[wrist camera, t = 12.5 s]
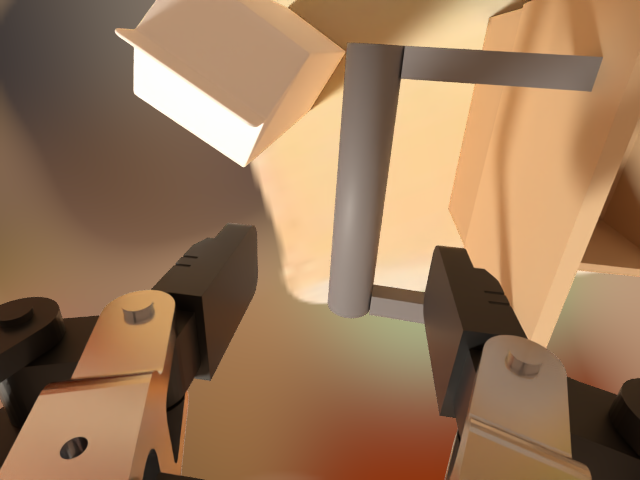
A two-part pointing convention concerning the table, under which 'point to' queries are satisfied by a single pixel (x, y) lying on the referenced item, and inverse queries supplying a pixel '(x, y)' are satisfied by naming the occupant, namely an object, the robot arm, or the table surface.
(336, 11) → the table surface
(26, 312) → the robot arm
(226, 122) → the milk
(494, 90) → the carton
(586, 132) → the carton flap
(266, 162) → the table surface
